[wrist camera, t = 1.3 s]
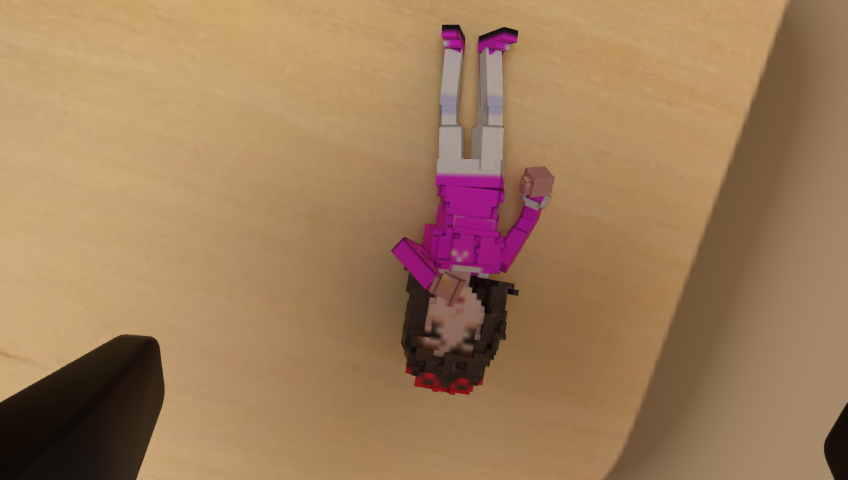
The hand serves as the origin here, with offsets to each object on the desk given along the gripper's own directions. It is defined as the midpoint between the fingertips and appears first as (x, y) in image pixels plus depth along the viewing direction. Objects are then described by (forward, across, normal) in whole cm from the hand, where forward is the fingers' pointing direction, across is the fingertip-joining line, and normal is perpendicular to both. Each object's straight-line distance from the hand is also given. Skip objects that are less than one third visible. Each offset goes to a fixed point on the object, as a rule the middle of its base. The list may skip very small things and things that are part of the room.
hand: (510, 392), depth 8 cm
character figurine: (+14, -1, +4) cm, 15 cm away
